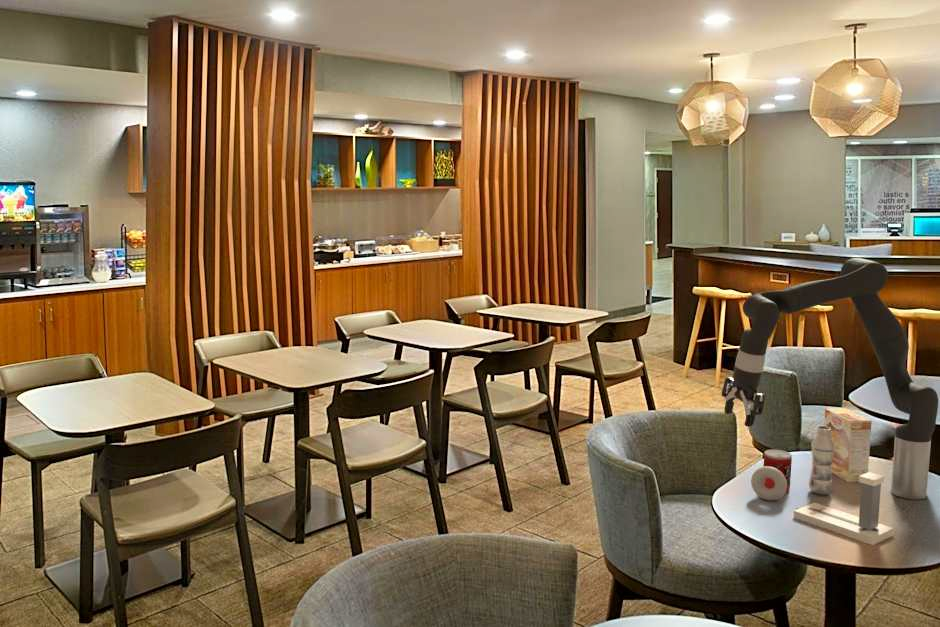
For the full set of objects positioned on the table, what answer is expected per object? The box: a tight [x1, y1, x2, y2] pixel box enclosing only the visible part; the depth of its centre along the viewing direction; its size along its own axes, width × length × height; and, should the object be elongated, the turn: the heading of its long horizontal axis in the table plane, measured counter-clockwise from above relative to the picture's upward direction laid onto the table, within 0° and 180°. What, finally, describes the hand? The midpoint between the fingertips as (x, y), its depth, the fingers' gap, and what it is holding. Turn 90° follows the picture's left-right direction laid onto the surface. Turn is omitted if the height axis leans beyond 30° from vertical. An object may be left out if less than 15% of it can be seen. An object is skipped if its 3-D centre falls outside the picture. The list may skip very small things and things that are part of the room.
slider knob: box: [858, 471, 886, 530], centre depth 210 cm, size 5×4×14 cm
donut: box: [750, 465, 787, 501], centre depth 235 cm, size 10×3×10 cm, turn 57°
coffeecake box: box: [823, 407, 873, 483], centre depth 256 cm, size 15×7×20 cm, turn 6°
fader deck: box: [793, 502, 894, 546], centre depth 216 cm, size 10×22×2 cm, turn 36°
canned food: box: [763, 449, 793, 493], centre depth 244 cm, size 8×8×11 cm
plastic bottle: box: [808, 425, 835, 495], centre depth 239 cm, size 6×7×20 cm
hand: (737, 419), depth 231 cm, fingers open, 8 cm apart
